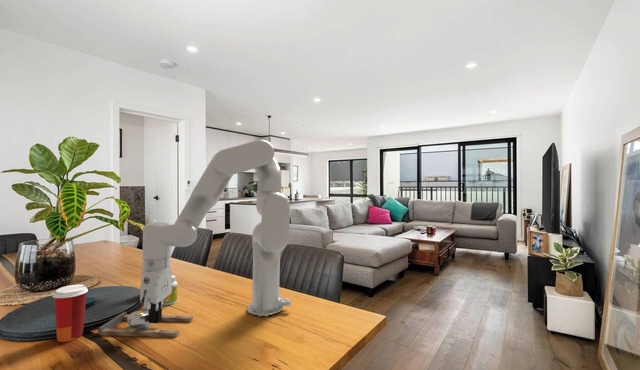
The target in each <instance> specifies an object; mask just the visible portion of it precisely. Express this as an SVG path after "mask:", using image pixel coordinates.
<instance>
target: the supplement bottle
mask: <svg viewBox="0 0 640 370" xmlns="http://www.w3.org/2000/svg"><path fill="white" fill-rule="evenodd" d="M171 277H172V292H171V294H170V295H169V296H167V297H166V298H165V299H164V300H163V306H168V305H169V306H170V305H174V304H175V303H177V302H178V281H177V280H176V275H174V274H171Z"/></svg>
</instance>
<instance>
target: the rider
mask: <svg viewBox="0 0 640 370" xmlns="http://www.w3.org/2000/svg"><path fill="white" fill-rule="evenodd" d="M127 315H128V320H127V328H126V329H128V328H135V329H139V330H148V328H149V327H151V323H149V311H148V309H143V310H136V311H132V312H131V313H129V314H127Z"/></svg>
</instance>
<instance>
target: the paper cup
mask: <svg viewBox="0 0 640 370" xmlns="http://www.w3.org/2000/svg"><path fill="white" fill-rule="evenodd" d="M88 291H89V289H88V288H87V287H86V285H85V284H72V285H71V284H70V285H66V286H62V287H59V288H57V289H55V291H54V292H53V295H51V296H52V298H53V299H54V312H55V326H56V327H55V328H56V329H55V330H56V341H57V342H59V343H68V342H72V341H75V340H78V339H79V338H81V337H82V336H83V332H84V326H85V325H84V324H85V323H84V322H85V316H86V315H85V313H86V303H87V301H86V300H87V293H88Z"/></svg>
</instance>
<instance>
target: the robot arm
mask: <svg viewBox="0 0 640 370" xmlns="http://www.w3.org/2000/svg"><path fill="white" fill-rule="evenodd" d="M253 169H254V170H255V172H256V175H257V190H256V191H257V193H256V202H255V203H256V204H255V207H256V212H258V214H259V215H260V216H261V221H260V222H259V223H257V224H256V225H255V227H254V228H253V231H252V235H251V239H252V240H251V242H252V243H251V244H252V255H253V256H252V288H251V290H252V293H251V294H252V295H251V296H252V298H251V303H249V305H248V306H247V312H248V313H249V314H250V313H251V314H250V315H252V314H253V315H252V316H254V315H258V316H257V317H261V316H265V317H267V316H266V315H272V314H275V313H278V312H280V311H281V310H282V309H283V310H284V307H291V306H292V300H290V299H289V298H283V297H281V296H282V294H281V293H280V272H281V271H280V270H281V269H280V267H281V256H280V255H281V254H280V252H282V251H283V250H284V249H285V248H286V247H287V245H288V241H289V235H290V223H291V222H290V221H291V220H290V219H291V218H290V217H291V205H290V201H289V200H288V198H287V197H286V196H285V195H284V194H283V193H282V171H281V168H280V165H279V163H278V162H277V159H276V158H275V149H274V146H273V144H271V142H269V141H267V140H266V139H265V140H264V139H256V140H253V141H249V142H247V143H242V144H239V145H236V146H231V147H227V148H224V149H220V150H219V151H217V152H216V153H215V154H214V155H213V156H212V158H211V160H210V161H209V163H208V165H207V166H206V168H205V170H204V171H203V174H202V175H201V176H200V178H199V180H198V182H197V183H196V185H195V187H194V188H193V190H192V192H191V193H190V197H189V198H188V201H187V202H186V203H185V205H184V207H183V209H182V210H181V212H180V213H179V215H178V217H177V219H176V220H175V222H174V224H169V223H168V222H159V221H158V222H149V223H146V224H145V225H144V226H143V229H142V256H141V257H142V260H141V261H142V264H141V265H142V266H141V267H142V274H141V278H140V287H139V288H140V289H139V290H140V291H139V300H140V303H141V304H142V305H143V307H142V309H143V310H148V311H149V323H150V324H159V323H161V322H162V321H161V320H162V315H163V309H162V308H163V307H164V305H163V300H164V299H165V298H166V297H167V296H169V295H170V294H171V292H172V277H171V275H172V269H171V247H175V248H176V247H177V248H185V247H189V246H191V245H193V244H194V243H195V241H196V240H197V238H198V229H199V227H200V226H201V224H202V222H203V220H204V218H205V217H206V215H207V213H209V212H210V210H211V209H212V208H213V207H214V206H215V205H216V204H217V203H218V201H220V199H221V197H222V195H223V194H224V191H225V190H226V188H227V186H228V185H229V183H230V181H231V180H232V178H233V176H234V175H237V174H240V173H244V172H248V171H250V170H253ZM283 310H282V311H283ZM282 311H281V312H282ZM281 312H280V313H281ZM278 314H279V313H278ZM272 316H273V315H272Z"/></svg>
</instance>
